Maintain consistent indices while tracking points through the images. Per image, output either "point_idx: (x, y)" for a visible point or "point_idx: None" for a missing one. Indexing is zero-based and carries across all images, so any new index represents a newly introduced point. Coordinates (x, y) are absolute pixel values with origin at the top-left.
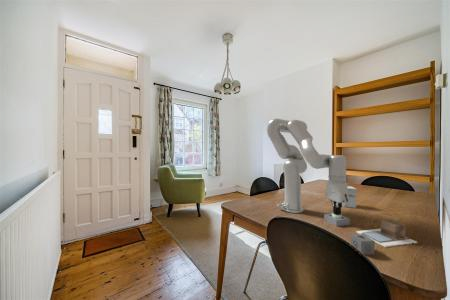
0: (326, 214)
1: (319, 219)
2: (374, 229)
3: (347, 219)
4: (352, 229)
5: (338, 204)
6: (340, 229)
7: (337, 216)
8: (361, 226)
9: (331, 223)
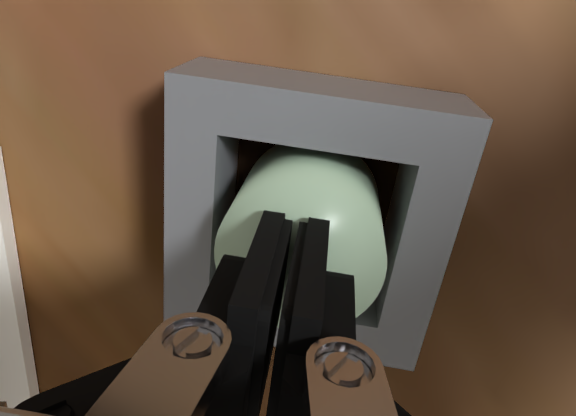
0: (453, 150)
1: (515, 19)
2: (20, 367)
3: (165, 286)
4: (81, 183)
5: (111, 398)
6: (100, 18)
7: (235, 200)
8: (135, 348)
9: (296, 70)
